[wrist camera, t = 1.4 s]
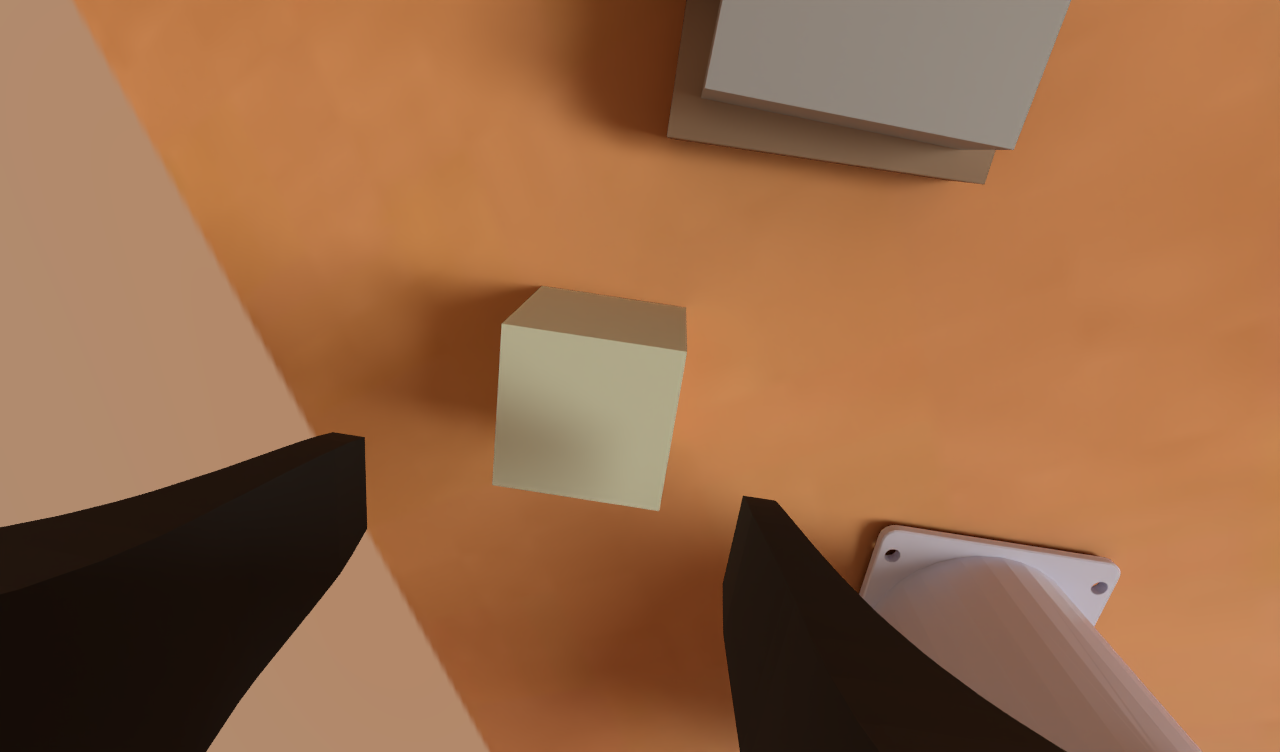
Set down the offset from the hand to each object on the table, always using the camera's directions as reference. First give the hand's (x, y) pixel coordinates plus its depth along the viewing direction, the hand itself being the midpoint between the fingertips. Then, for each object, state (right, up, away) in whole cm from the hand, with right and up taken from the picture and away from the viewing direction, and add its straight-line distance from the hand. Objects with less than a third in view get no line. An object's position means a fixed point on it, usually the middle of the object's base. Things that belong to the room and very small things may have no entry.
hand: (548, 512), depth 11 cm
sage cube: (+1, +3, +8) cm, 9 cm away
